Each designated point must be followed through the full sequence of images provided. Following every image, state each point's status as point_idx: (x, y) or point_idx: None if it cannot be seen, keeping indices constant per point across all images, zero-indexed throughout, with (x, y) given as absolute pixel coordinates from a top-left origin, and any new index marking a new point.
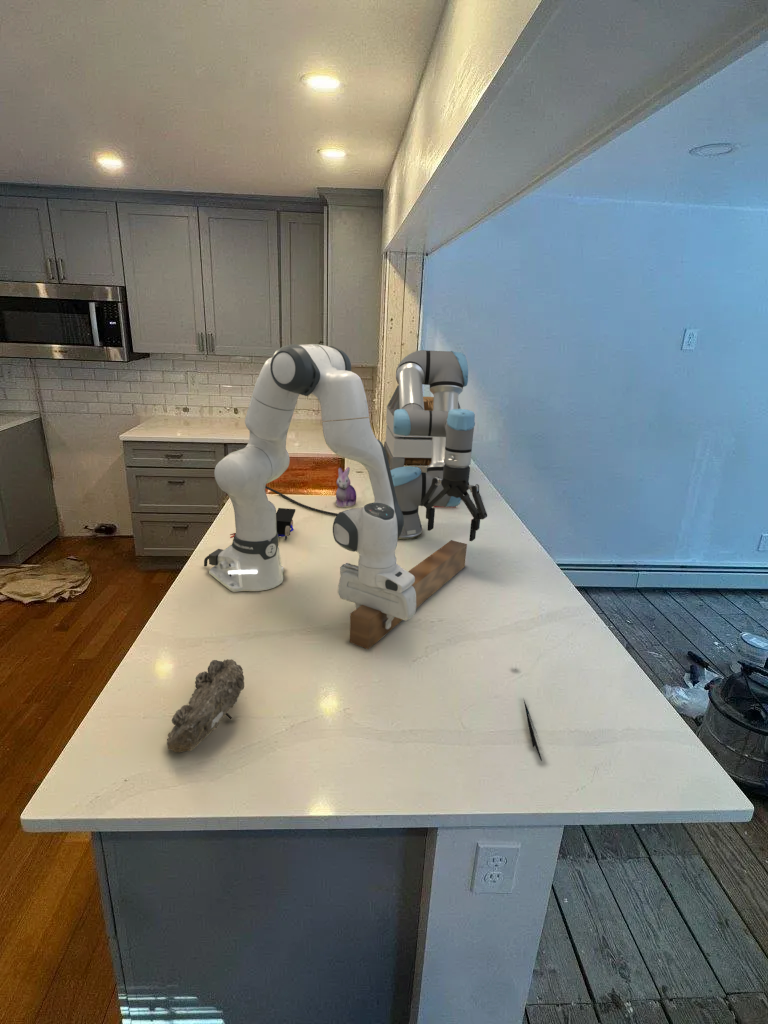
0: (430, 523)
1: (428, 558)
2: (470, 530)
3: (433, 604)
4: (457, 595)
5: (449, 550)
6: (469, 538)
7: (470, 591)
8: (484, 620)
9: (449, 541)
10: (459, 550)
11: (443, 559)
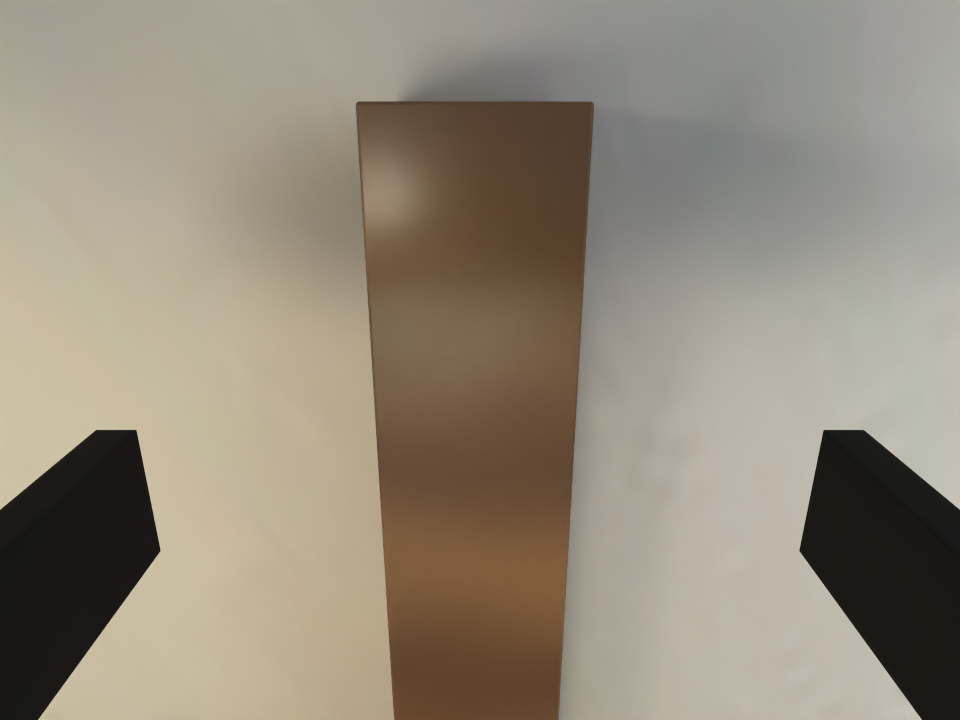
0: (94, 620)
1: (411, 675)
2: (898, 681)
3: (589, 708)
4: (674, 560)
5: (492, 421)
6: (817, 574)
7: (735, 471)
8: (894, 703)
9: (364, 172)
10: (579, 335)
11: (534, 624)
